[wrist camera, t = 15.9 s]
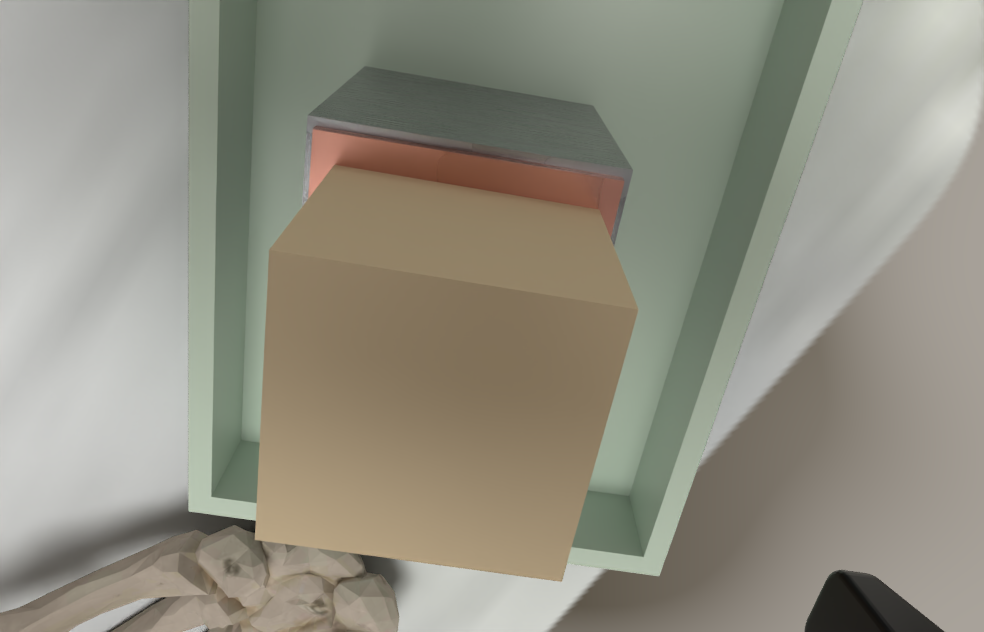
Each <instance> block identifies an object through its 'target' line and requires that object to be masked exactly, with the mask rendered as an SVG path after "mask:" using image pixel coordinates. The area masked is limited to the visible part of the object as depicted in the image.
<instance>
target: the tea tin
mask: <svg viewBox="0 0 984 632" xmlns="http://www.w3.org/2000/svg"><path fill="white" fill-rule="evenodd" d="M334 165H339V166H345V167H351V168H357V169H363V170H369V171H375V172H380V173H386V174H392V175H398V176H404V177H410V178H416V179H422V180H427V181H433V182H439V183H445V184H451V185H457V186H463V187H469V188H475V189H480V190H486V191H492V192H498V193H504V194H510V195H516V196H522V197H527V198H533V199H539V200H545V201H551V202H557V203H563V204H569V205H574V206H580V207H586V208H592V209H598V210H600V212H601V215H602V218H603V220H604V223H605V225H606V228H607V230H608V233H609V235H610V238H611V240H612V243H613V246H614V245H615V241H616V237H617V233H618V229H619V225H620V221H621V217H622V213H623V209H624V205H625V201H626V197H627V193H628V189H629V185H630V181H631V177H632V173H633V169H632V167H631V166H630V164H629V162H628V161H627V159H626V158H625V156H624V154H623V153H622V151H621V150H620V148H619V146H618V145H617V143H616V141H615V140H614V138H613V137H612V135H611V133H610V132H609V130H608V129H607V127H606V125H605V124H604V122H603V121H602V119H601V117H600V116H599V114H598V112H597V111H596V109H595V108H594V106H593V105H587V104H581V103H576V102H570V101H564V100H558V99H552V98H547V97H541V96H535V95H529V94H524V93H518V92H512V91H506V90H501V89H495V88H489V87H483V86H477V85H472V84H466V83H460V82H454V81H449V80H443V79H437V78H431V77H426V76H420V75H414V74H408V73H402V72H397V71H391V70H385V69H379V68H374V67H368V66H364V67H363V68H362V69H361V70H360V71H359V72H357V73H356V74H355V75H354V76H353V77H352V78H350V79H349V80H348V81H347V82H346V83H345V84H343V85H342V86H341V87H340V88H339V89H337V90H336V91H335V92H334V93H333V94H332V95H330V96H329V97H328V98H327V99H326V100H325V101H323V102H322V103H321V104H320V105H319V106H318V107H316V108H315V109H314V110H313V111H312V112H311V113H309V114H308V115H307V130H306V147H305V163H304V179H303V196H302V206H303V205H304V204H305V202H306V201H307V200H308V199H309V197H310V196H311V195H312V193H313V192H314V191H315V189H316V188H317V187H318V186H319V184H320V183H321V182H322V180H323V179H324V178H325V176H326V175H327V174H328V173H329V171H330V170H331V169H332V167H333V166H334Z"/></svg>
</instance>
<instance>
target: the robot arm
mask: <svg viewBox="0 0 984 632" xmlns="http://www.w3.org/2000/svg"><path fill="white" fill-rule="evenodd" d="M805 632H944V631H943V630H942V629H940V628H939V627H938V626H937V625H935V624H934V623H933V622H932V621H930V620H929V619H928V618H927V617H925V616H924V615H923V614H921V613H920V612H919V611H918V610H917V609H915V608H914V607H913V606H912V605H910V604H909V603H908V602H907V601H905V600H904V599H903V598H902V597H900V596H899V595H898V594H897V593H895V592H894V591H893V590H892V589H890V588H889V587H888V586H887V585H885V584H884V583H883V582H882V581H880V580H879V579H878V578H876V577H875V576H873V575H870V574H867V573H860V572H853V571H845V570H838V571H834V572H833V573H831V574H830V575H829V577H828V578H827V580H826V582H825V584H824V586H823V588H822V590H821V592H820V594H819V596H818V598H817V601H816V603H815V605H814V607H813V609H812V611H811V613H810V615H809V617H808V619H807V622H806V626H805Z"/></svg>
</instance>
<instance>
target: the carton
mask: <svg viewBox="0 0 984 632" xmlns="http://www.w3.org/2000/svg"><path fill="white" fill-rule="evenodd" d="M638 310H639V309H638V307H637V304H636V301H635V299H634V296H633V294H632V291H631V289H630V286H629V284H628V281H627V279H626V276H625V274H624V271H623V268H622V266H621V263H620V261H619V258H618V256H617V253H616V251H615V248H614V246H613V243H612V240H611V238H610V235H609V233H608V230H607V228H606V225H605V223H604V220H603V218H602V215H601V212H600V210H598V209H592V208H586V207H580V206H574V205H569V204H563V203H557V202H551V201H545V200H539V199H533V198H527V197H522V196H516V195H510V194H504V193H498V192H492V191H486V190H480V189H475V188H469V187H463V186H457V185H451V184H445V183H439V182H433V181H427V180H422V179H416V178H410V177H404V176H398V175H392V174H386V173H380V172H375V171H369V170H363V169H357V168H351V167H345V166H339V165H334V166H333V167H332V169H331V170H330V171H329V173H328V174H327V175H326V176H325V178H324V179H323V180H322V182H321V183H320V184H319V186H318V187H317V188H316V189H315V191H314V192H313V193H312V195H311V196H310V197H309V199H308V200H307V201H306V202H305V204H304V205H303V206H302V208H301V209H300V210H299V212H298V213H297V214H296V215H295V217H294V218H293V219H292V221H291V222H290V223H289V225H288V226H287V227H286V228H285V230H284V231H283V232H282V234H281V235H280V236H279V238H278V239H277V240H276V241H275V243H274V244H273V245H272V247H271V248H270V249H269V261H268V282H267V302H266V322H265V343H264V363H263V383H262V404H261V424H260V444H259V465H258V485H257V505H256V526H255V540H259V541H267V542H274V543H281V544H289V545H296V546H303V547H311V548H318V549H325V550H333V551H340V552H347V553H355V554H362V555H369V556H377V557H384V558H391V559H399V560H406V561H414V562H421V563H428V564H436V565H443V566H450V567H458V568H465V569H472V570H480V571H487V572H494V573H502V574H509V575H516V576H524V577H531V578H538V579H546V580H553V581H560V582H562V579H563V575H564V572H565V568H566V565H567V561H568V558H569V554H570V551H571V547H572V544H573V540H574V536H575V533H576V529H577V526H578V522H579V519H580V515H581V512H582V508H583V505H584V501H585V498H586V494H587V491H588V487H589V483H590V480H591V476H592V473H593V469H594V466H595V462H596V459H597V455H598V452H599V448H600V445H601V441H602V437H603V434H604V430H605V427H606V423H607V420H608V416H609V413H610V409H611V406H612V402H613V399H614V395H615V391H616V388H617V384H618V381H619V377H620V374H621V370H622V367H623V363H624V360H625V356H626V353H627V349H628V345H629V342H630V338H631V335H632V331H633V328H634V324H635V321H636V317H637V314H638Z"/></svg>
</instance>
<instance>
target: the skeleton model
mask: <svg viewBox="0 0 984 632" xmlns="http://www.w3.org/2000/svg"><path fill="white" fill-rule="evenodd" d="M159 597H167V598H165V599H163V600H161V601H159V602H158V603H156V604H154V605H152V606H151V607H149V608H147V609H146V610H144V611H142V612H141V613H139V614H138V615H136V616H135V617H133V618H132V619H130V620H129V621H127V622H126V623H124V624H122V625H121V626H119V627H117V628H116V629H114V630H113V631H111V632H182V631H186V630H189V629H192V628H195V627H198V626H201V625H204V624H205V625H206V626H207V627H208V628H209V630H208V631H207V632H397V631H398V623H399V613H398V608H397V603H396V597H395V592H394V590H393V589H392V588H391V586H390V585H389V584H388V582H387V581H386V580H385V578H384V577H383V576H382V575H381V574H373V573H369V572H366V570H365V567H364V563H363V560H362V558H361V556H360V554H355V553H347V552H340V551H333V550H325V549H318V548H311V547H303V546H296V545H289V544H281V543H274V542H267V541H259V540H255V533H253V532H249V531H246V530H244V529H242V528H240V527H238V526H236V525H233V526H231V527H228V528H226V529H223V530H221V531H218V532H216V533H214V534H211V535H209V536H208V535H207V534H205V533H203V532H200V531H198V530H194V531H190V532H187V533H184V534H180V535H177V536H173V537H171V538H169V539H167V540H165V541H163V542H160V543H158V544H156V545H154V546H152V547H150V548H147V549H145V550H143V551H141V552H138V553H136V554H134V555H131V556H129V557H127V558H124V559H122V560H120V561H117V562H115V563H113V564H111V565H108V566H106V567H104V568H101V569H99V570H97V571H95V572H93V573H91V574H88V575H86V576H84V577H82V578H80V579H78V580H76V581H74V582H71V583H69V584H67V585H65V586H63V587H61V588H59V589H57V590H54V591H52V592H50V593H48V594H46V595H44V596H42V597H40V598H38V599H36V600H34V601H32V602H30V603H28V604H26V605H23V606H21V607H19V608H16V609H13V610H9V611H5V612H2V613H0V632H68V631H70V630H71V629H73V628H74V627H76V626H77V625H79V624H81V623H83V622H85V621H87V620H89V619H91V618H94V617H96V616H98V615H100V614H102V613H105V612H108V611H110V610H113V609H116V608H118V607H121V606H124V605H126V604H129V603H132V602H134V601H137V600H140V599H144V598H159Z"/></svg>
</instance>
